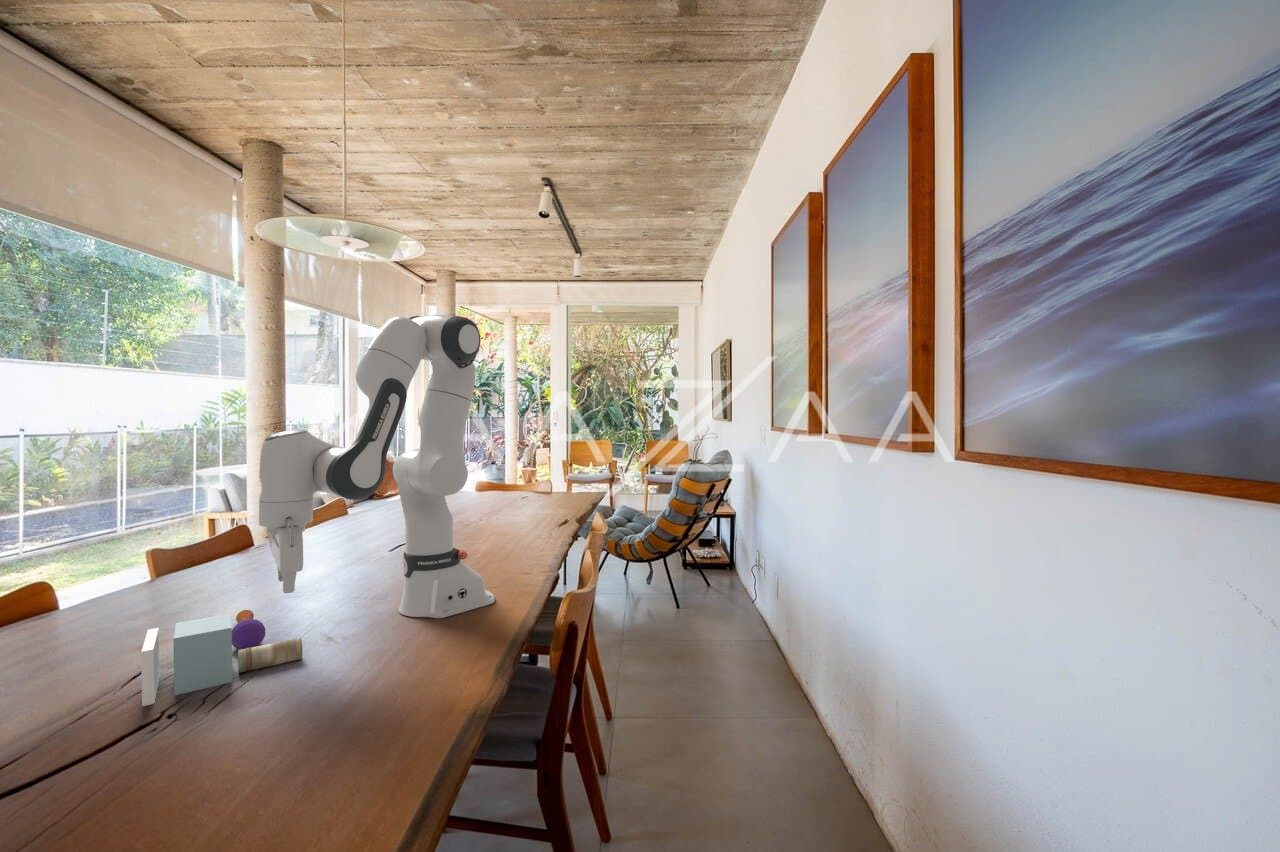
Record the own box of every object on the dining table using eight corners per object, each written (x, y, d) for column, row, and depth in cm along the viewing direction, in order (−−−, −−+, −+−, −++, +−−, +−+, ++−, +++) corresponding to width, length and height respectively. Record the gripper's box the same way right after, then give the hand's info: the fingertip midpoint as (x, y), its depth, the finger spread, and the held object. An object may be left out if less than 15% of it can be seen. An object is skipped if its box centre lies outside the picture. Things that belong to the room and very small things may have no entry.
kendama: (263, 603, 132) (269, 622, 116) (257, 630, 131) (263, 652, 115) (231, 603, 128) (233, 622, 112) (226, 631, 127) (227, 654, 111)
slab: (159, 676, 103) (158, 627, 103) (154, 703, 93) (153, 649, 93) (148, 679, 102) (147, 629, 102) (142, 706, 92) (141, 651, 92)
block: (231, 664, 108) (230, 613, 108) (232, 682, 101) (231, 627, 101) (177, 676, 103) (176, 622, 103) (174, 695, 96) (173, 638, 96)
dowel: (299, 651, 113) (300, 633, 112) (302, 663, 110) (302, 645, 109) (238, 664, 107) (238, 645, 106) (238, 677, 104) (238, 658, 103)
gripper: (312, 520, 103) (312, 596, 103) (299, 506, 119) (298, 572, 119) (271, 524, 99) (270, 603, 99) (263, 509, 115) (262, 576, 115)
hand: (285, 586), depth 109 cm, fingers open, 8 cm apart
